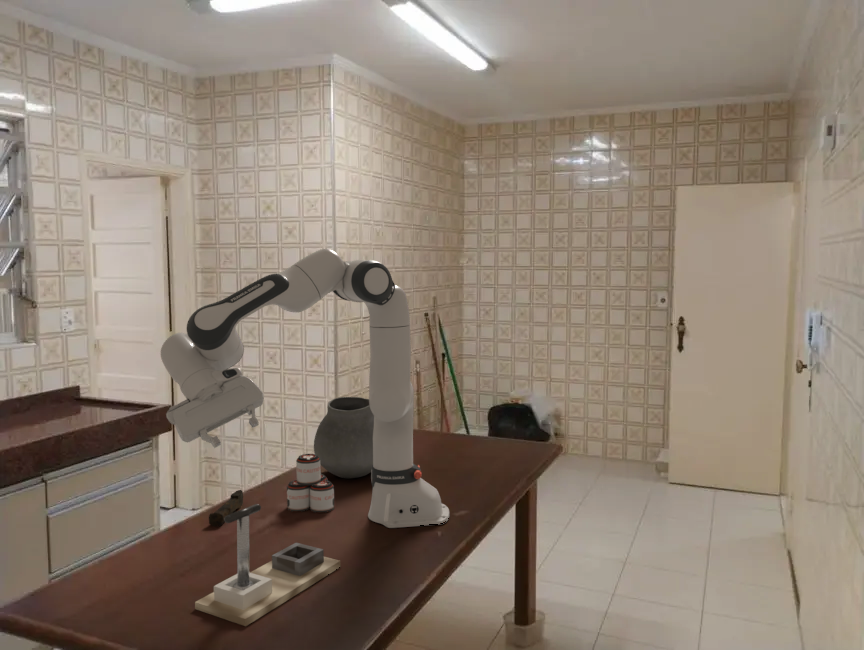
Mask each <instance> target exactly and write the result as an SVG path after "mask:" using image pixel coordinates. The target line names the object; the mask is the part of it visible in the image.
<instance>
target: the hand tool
mask: <svg viewBox="0 0 864 650" xmlns="http://www.w3.org/2000/svg"><path fill="white" fill-rule="evenodd" d="M243 505H244V494H243V490H242V489H237V490H235V492H233V493H231V494H230V498H229V499H228V500H227V501H226V502H225V503H224V504H222V505H221V506H220V507H219V508H218V509H217V510H215V511H214V512H212V513H210V514H209V516H208V524H209V525H210V526H211V525H212V526H211V527H222V525H223V524H224V523H225V521H224V518H225V516H227V515H229V514H232V513H234V512H236V509H238V510H241V508H242V507H241V506H243Z"/></svg>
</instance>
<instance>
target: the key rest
mask: <svg viewBox="0 0 864 650" xmlns="http://www.w3.org/2000/svg"><path fill="white" fill-rule="evenodd" d="M250 572H251V571H249V574H250V581H252V582H253V585H252V586H250V587H249V588H247V589H245V590H239V589H236V588H234V584H235V583H236V582H237V573H236V574H234V575H232V576H230V577H229V578H226V579H225V580H223V581H220V582H219V583H217V584H215V585H213V592H214V600H215V601H218V602H221V603H224V604H227V605H230V606H233V607H236V608H239V609H242V610H244V609H246V608H248V607H249V606H251V605H253V604H254V603H256V602H258V601H259V600H261V599H263V598H264V597H266V596H268V595H270V594H271V593H272V579H270V578H267V577H263V576H260V575H256V574H253V573H250Z"/></svg>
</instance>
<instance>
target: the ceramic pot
mask: <svg viewBox="0 0 864 650" xmlns="http://www.w3.org/2000/svg"><path fill="white" fill-rule="evenodd" d="M373 429H374V415H373V413H372V411H371V409H370V405H369V398H365V397H360V396H340V397H336V398H333V399H331V400H329V402H328V403H327V413H326V414H325V416H323V418H322V420H321V421H320V422H319V425H318V426H317V429H316V432H315V434H314V435H315V436H314V440H313V454H316V455H318V457H319V458H320V467H323V469H325V471H328V472H329V473H331V474H332V475H334V476H336V477H338V478H340V479H357V478H361V477H364V476H367V475H368V474H371V469H372V465H373Z"/></svg>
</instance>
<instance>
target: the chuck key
mask: <svg viewBox="0 0 864 650" xmlns="http://www.w3.org/2000/svg"><path fill="white" fill-rule="evenodd" d="M261 509H262V506H261V504H259V503H255V504H252V505H249V506H248V507H245V508H242V509H238V510H237V511H234V512H233V513H232V514H229V515H227V516H225V518H224V523H226V524H230V523H233V522H235V521H236V539H237V541H236V547H237V548H236V551H237V553H236V555H237V558H236V559H237V560H236V562H237V563H236V564H237V568H236V569H237V573H236V574H237V582H236V583H235V584H234V588H236V589H239V590H245V589H247V588H249V587H250V586H252V585H253V582H252V581H250V574H249V572H250V515H252V514H255V513H259V512H260V511H261Z"/></svg>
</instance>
